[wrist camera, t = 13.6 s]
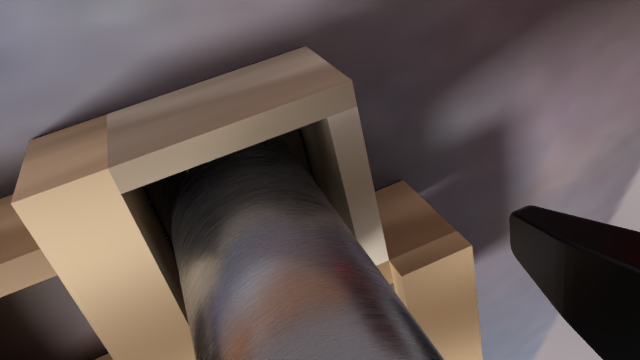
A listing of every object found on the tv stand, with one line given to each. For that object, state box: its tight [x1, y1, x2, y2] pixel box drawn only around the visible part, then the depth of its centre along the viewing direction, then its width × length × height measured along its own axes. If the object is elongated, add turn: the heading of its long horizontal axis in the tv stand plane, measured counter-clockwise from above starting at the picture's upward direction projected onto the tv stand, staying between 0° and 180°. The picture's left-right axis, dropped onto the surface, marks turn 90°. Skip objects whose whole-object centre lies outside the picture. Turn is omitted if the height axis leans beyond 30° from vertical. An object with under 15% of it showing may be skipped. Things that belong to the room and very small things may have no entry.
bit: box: [162, 135, 444, 360], centre depth 10 cm, size 4×4×10 cm
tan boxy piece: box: [107, 46, 389, 266], centre depth 13 cm, size 5×5×3 cm
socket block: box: [0, 114, 483, 360], centre depth 14 cm, size 10×15×4 cm
